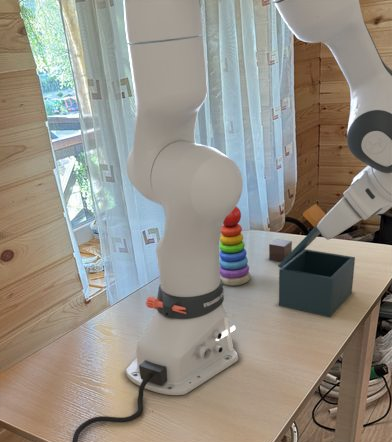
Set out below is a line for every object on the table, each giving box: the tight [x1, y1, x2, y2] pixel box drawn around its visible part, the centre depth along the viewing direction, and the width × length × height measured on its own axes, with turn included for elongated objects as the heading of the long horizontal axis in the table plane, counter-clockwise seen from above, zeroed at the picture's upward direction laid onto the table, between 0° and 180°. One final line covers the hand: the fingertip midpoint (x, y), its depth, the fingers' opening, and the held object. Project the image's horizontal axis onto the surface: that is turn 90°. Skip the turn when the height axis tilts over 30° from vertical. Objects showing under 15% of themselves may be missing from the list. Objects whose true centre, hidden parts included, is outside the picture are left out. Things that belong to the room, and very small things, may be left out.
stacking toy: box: [219, 205, 251, 286], centre depth 123 cm, size 8×8×19 cm
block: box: [268, 238, 293, 263], centre depth 136 cm, size 4×4×4 cm
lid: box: [277, 203, 327, 269], centre depth 109 cm, size 13×13×5 cm
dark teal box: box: [278, 248, 356, 318], centre depth 114 cm, size 12×13×9 cm
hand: (324, 232), depth 107 cm, fingers closed, pressing on lid
